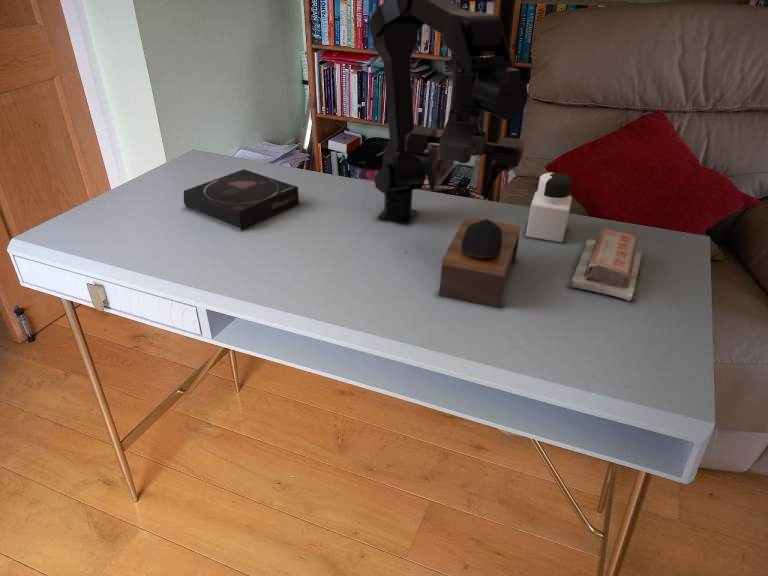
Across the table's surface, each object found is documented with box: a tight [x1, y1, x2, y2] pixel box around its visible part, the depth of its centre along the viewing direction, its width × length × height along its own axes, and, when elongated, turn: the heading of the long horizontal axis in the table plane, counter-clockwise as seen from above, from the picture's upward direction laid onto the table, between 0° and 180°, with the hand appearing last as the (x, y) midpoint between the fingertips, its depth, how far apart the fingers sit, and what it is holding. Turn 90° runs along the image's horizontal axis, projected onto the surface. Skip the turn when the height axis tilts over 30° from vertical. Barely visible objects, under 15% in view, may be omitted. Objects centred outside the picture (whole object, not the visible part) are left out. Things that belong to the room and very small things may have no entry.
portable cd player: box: [183, 168, 300, 231], centre depth 124 cm, size 16×17×4 cm
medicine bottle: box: [525, 171, 573, 243], centre depth 115 cm, size 7×7×12 cm
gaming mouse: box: [461, 218, 502, 258], centre depth 98 cm, size 6×15×4 cm, turn 165°
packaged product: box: [571, 228, 643, 302], centre depth 104 cm, size 18×5×10 cm
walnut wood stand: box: [438, 216, 522, 309], centre depth 101 cm, size 17×10×7 cm, turn 161°
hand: (458, 194), depth 101 cm, fingers open, 9 cm apart
